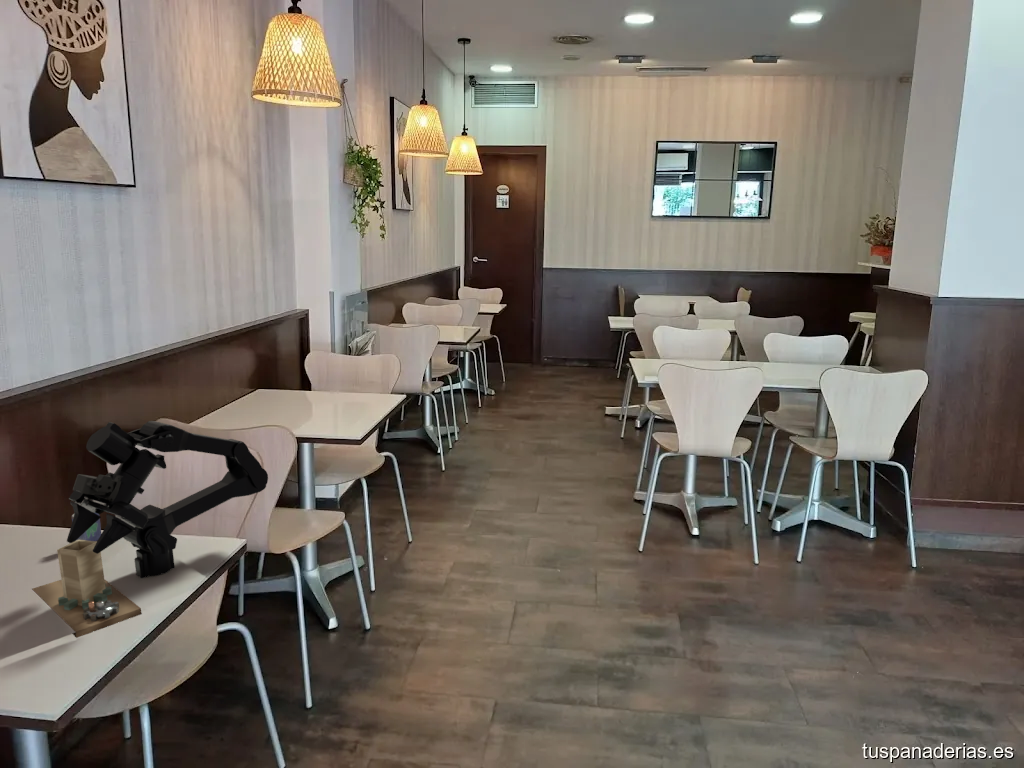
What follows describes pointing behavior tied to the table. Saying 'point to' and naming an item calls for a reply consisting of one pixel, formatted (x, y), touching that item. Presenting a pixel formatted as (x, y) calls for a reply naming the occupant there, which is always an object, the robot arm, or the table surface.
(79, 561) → the open-ended square tube
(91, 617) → the drive gear
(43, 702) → the table surface
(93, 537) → the flask
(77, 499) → the robot arm
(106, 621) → the gear board
